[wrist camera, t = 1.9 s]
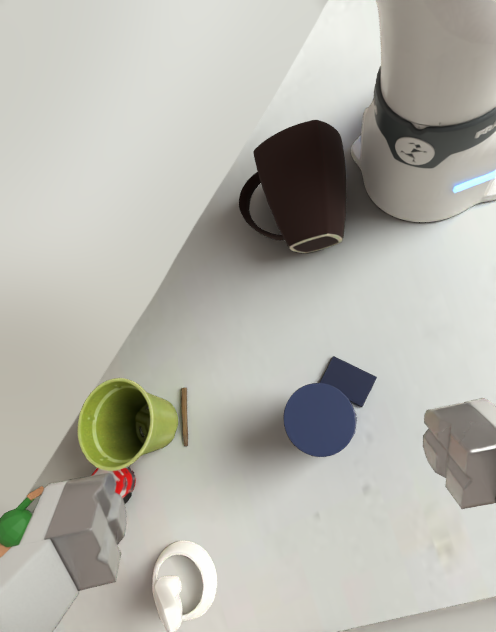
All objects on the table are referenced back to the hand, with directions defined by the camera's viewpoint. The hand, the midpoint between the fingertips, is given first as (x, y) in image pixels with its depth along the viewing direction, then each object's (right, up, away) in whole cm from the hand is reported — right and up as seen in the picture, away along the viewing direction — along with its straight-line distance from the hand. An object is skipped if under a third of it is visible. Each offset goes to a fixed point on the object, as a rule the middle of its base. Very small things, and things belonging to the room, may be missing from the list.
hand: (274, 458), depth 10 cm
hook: (-8, -26, +33) cm, 43 cm away
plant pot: (-12, -10, +39) cm, 42 cm away
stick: (-7, -8, +38) cm, 39 cm away
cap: (+9, -6, +33) cm, 35 cm away
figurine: (-26, -19, +38) cm, 50 cm away
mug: (+6, +11, +36) cm, 39 cm away
